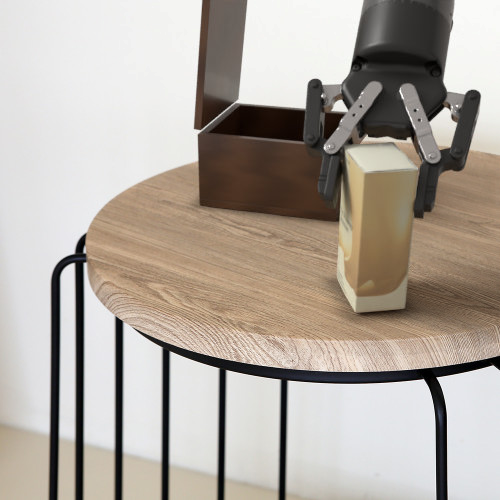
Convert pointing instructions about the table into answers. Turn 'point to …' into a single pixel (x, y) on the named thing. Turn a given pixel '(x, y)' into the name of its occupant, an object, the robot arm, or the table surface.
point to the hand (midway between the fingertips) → (373, 209)
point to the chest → (263, 162)
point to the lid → (219, 58)
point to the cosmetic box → (376, 225)
